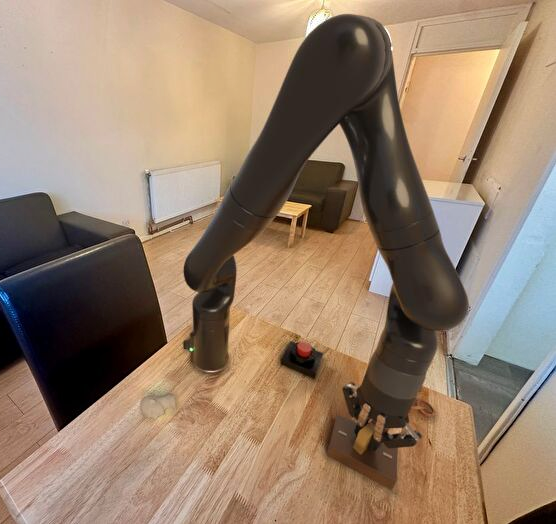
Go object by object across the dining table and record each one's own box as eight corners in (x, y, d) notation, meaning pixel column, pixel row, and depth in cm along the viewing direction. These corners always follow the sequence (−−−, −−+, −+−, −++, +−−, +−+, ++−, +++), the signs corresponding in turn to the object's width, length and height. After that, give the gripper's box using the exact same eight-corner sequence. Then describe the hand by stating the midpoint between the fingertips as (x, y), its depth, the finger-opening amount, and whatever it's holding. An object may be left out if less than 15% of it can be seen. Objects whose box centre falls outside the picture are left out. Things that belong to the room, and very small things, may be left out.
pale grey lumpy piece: (140, 423, 63) (142, 399, 66) (176, 420, 63) (177, 396, 67) (137, 416, 60) (139, 391, 63) (175, 414, 60) (175, 389, 64)
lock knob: (360, 454, 53) (367, 437, 50) (352, 447, 54) (359, 430, 52) (375, 440, 55) (383, 423, 53) (367, 433, 56) (374, 416, 54)
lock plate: (326, 455, 56) (330, 445, 54) (334, 422, 62) (337, 413, 60) (391, 490, 50) (397, 480, 49) (393, 450, 56) (398, 441, 55)
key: (371, 423, 62) (443, 426, 61) (372, 420, 61) (445, 424, 61) (360, 398, 67) (426, 401, 66) (361, 396, 66) (428, 399, 65)
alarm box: (280, 364, 76) (282, 353, 74) (289, 346, 82) (291, 335, 80) (314, 379, 72) (317, 367, 70) (321, 359, 78) (324, 348, 76)
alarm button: (294, 353, 75) (295, 348, 74) (298, 345, 78) (299, 340, 77) (308, 358, 73) (309, 353, 72) (312, 350, 76) (313, 345, 75)
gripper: (341, 360, 50) (322, 423, 58) (428, 423, 40) (392, 489, 48) (365, 344, 54) (345, 405, 62) (451, 398, 43) (414, 463, 51)
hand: (365, 441), depth 55 cm, fingers closed on lock knob
